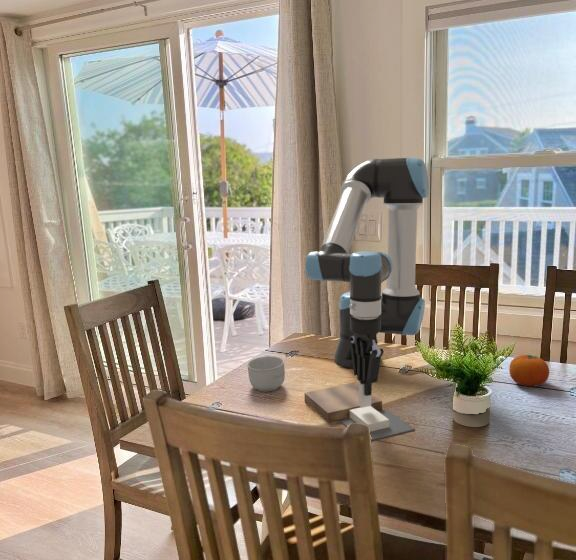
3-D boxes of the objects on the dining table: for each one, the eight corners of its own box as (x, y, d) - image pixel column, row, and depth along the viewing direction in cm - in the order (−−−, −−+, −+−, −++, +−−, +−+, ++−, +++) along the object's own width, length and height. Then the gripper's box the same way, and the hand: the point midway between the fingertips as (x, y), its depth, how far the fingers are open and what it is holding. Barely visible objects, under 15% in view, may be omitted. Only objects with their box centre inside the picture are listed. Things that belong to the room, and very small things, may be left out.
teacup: (280, 396, 157) (280, 369, 155) (243, 394, 159) (242, 367, 157) (290, 377, 170) (289, 352, 169) (256, 375, 172) (255, 351, 171)
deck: (355, 390, 159) (355, 382, 159) (382, 409, 147) (382, 400, 146) (304, 401, 153) (304, 392, 153) (328, 422, 140) (327, 413, 140)
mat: (387, 410, 146) (387, 409, 146) (414, 429, 135) (414, 428, 135) (340, 421, 141) (340, 420, 141) (365, 442, 130) (365, 441, 130)
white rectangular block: (369, 412, 144) (369, 405, 144) (389, 427, 136) (389, 419, 136) (349, 417, 142) (349, 409, 142) (368, 432, 134) (368, 424, 134)
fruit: (533, 394, 154) (535, 366, 152) (501, 382, 162) (502, 356, 161) (555, 385, 159) (557, 358, 158) (523, 374, 168) (525, 348, 166)
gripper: (338, 311, 140) (339, 398, 145) (366, 324, 128) (365, 419, 133) (364, 307, 143) (364, 393, 148) (393, 320, 131) (392, 412, 136)
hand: (365, 405), depth 140 cm, fingers closed
